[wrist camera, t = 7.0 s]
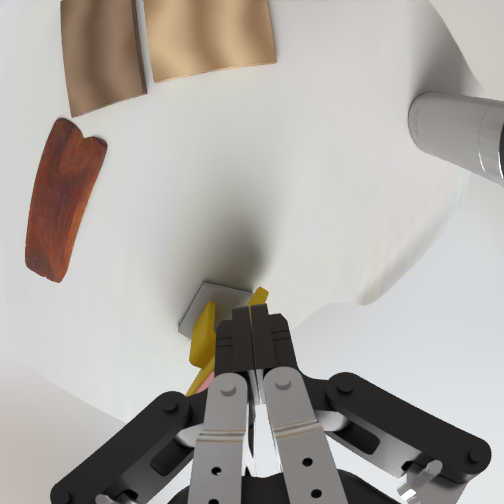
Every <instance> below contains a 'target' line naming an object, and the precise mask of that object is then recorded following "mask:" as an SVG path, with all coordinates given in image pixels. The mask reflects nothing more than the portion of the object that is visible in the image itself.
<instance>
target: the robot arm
mask: <svg viewBox="0 0 504 504" xmlns="http://www.w3.org/2000/svg"><path fill="white" fill-rule="evenodd" d="M408 124H409V131H410V134H411V137H412V139H413V141H414V142H415V144H416V145H417V146H418V147H419V148H420V149H421V150H422V151H424V152H426V153H428V154H431V155H433V156H436V157H438V158H441V159H443V160H446V161H448V162H451V163H453V164H455V165H458V166H460V167H462V168H465V169H467V170H469V171H472V172H474V173H476V174H478V175H480V176H483V177H485V178H487V179H489V180H491V181H493V182H495V183H497V184H499V185H501V186H503V187H504V101H498V100H492V99H486V98H479V97H472V96H463V95H454V94H444V93H430V92H429V93H424V94H422V95H420V96H419V97H417V98H416V99H415V101H414V102H413V103H412V106H411V108H410V111H409V117H408ZM250 311H251V317H250ZM251 322H252V323H251ZM215 347H216V348H215V368H214V379H213V380H212V381H211V383H210V385H209V387H208V388H206V389H205V390H203V391H201V392H199V393H196V394H193V395H190V396H187V397H186V396H185V395H183V394H182V393H180V392H176V391H169V392H165V393H163V394H161V395H159V396H158V397H157V398H156V399H155V400H154V401H152V402H151V403H150V404H149V405H148V406H147V407H146V408H145V409H144V410H142V411H141V412H140V413H139V414H138V415H137V416H136V417H135V418H133V419H132V420H131V421H130V422H129V423H128V424H127V425H126V426H124V427H123V428H122V429H121V430H120V431H119V432H118V433H116V434H115V435H114V436H113V437H112V438H111V439H109V441H107V442H106V443H105V444H104V445H103V446H101V447H100V448H99V449H98V450H97V451H95V452H94V453H93V454H92V455H91V456H90V457H88V458H87V459H86V460H85V461H84V462H82V463H81V464H80V465H79V466H77V467H76V468H75V469H74V470H73V471H71V472H70V473H69V474H68V475H66V476H65V477H64V478H63V479H62V480H60V481H59V482H58V483H57V484H55V485H54V487H53V488H52V490H51V493H50V500H51V503H52V504H146V503H148V502H149V501H150V500H151V499H152V498H153V497H154V496H155V495H156V494H157V493H158V492H159V491H160V490H162V489H163V488H164V487H165V486H166V485H167V484H168V483H169V482H170V481H171V480H172V479H173V478H174V477H175V476H176V475H177V474H178V473H179V472H180V471H181V470H182V469H183V468H184V467H185V466H186V465H187V464H188V463H189V462H190V461H191V460H192V459H193V464H192V472H191V480H190V485H189V486H187V487H185V488H184V489H182V490H181V491H180V492H178V493H177V494H176V495H175V496H174V497H173V498H172V499H171V500H170V501H169V502H168V503H167V504H401V503H399V502H397V501H396V500H394V499H392V498H390V497H389V496H387V495H386V494H384V493H382V492H381V491H379V490H378V489H376V488H375V487H373V486H372V485H370V484H369V483H367V482H365V481H364V480H362V479H361V478H359V477H358V476H356V475H354V474H352V473H350V472H347V471H344V470H340V469H337V468H336V466H335V462H334V459H333V456H332V453H331V451H330V448H329V444H328V441H327V438H326V435H328V436H329V437H331V438H332V439H334V440H335V441H337V442H338V443H340V444H341V445H343V446H345V447H346V448H348V449H349V450H351V451H352V452H354V453H356V454H357V455H359V456H360V457H362V458H364V459H365V460H367V461H369V462H370V463H372V464H374V465H375V466H377V467H379V468H380V469H382V470H384V471H386V472H387V473H389V474H391V475H393V476H395V477H396V478H398V482H397V491H398V493H399V495H400V496H401V497H402V498H404V499H405V500H406V501H407V502H408V504H456V503H457V501H458V499H459V497H460V496H461V494H462V492H463V490H464V489H465V487H466V485H467V483H468V482H469V481H470V480H471V479H473V478H474V477H476V476H477V475H478V474H480V473H481V472H482V471H484V470H485V469H486V468H487V466H488V465H489V463H490V461H491V449H490V446H489V445H488V443H487V442H486V441H484V440H482V439H481V438H478V437H476V436H474V435H472V434H470V433H467V432H465V431H463V430H461V429H459V428H457V427H455V426H453V425H451V424H449V423H447V422H444V421H443V420H441V419H439V418H437V417H435V416H433V415H431V414H429V413H427V412H425V411H423V410H421V409H419V408H417V407H415V406H413V405H411V404H409V403H407V402H405V401H403V400H402V399H400V398H398V397H396V396H394V395H392V394H390V393H388V392H387V391H385V390H383V389H381V388H379V387H377V386H375V385H374V384H372V383H370V382H368V381H367V380H364V379H363V378H361V377H359V376H358V375H356V374H353V373H348V372H342V373H338V374H335V375H333V376H332V377H331V378H330V379H329V380H321V379H313V378H310V377H307V376H306V375H304V374H303V373H302V372H301V371H300V370H299V368H298V366H297V362H296V357H295V353H294V349H293V344H292V340H291V335H290V332H289V327H288V322H287V320H286V319H285V318H284V317H283V316H282V315H281V313H279V314H272V315H269V314H268V308H267V303H265V304H257V305H250V310H249V306H241V307H233V308H232V320H223V321H221V322H220V324H219V325H218V327H217V329H216V343H215ZM258 384H259V387H258ZM259 390H260V396H261V402H262V404H266V406H267V413H268V419H269V424H270V429H271V434H272V438H273V442H274V447H275V452H276V457H277V461H278V466H279V472H280V473H278V474H275V475H272V476H269V477H266V478H259V477H256V466H255V416H256V414H255V405H259V404H260V398H259ZM325 434H326V435H325Z"/></svg>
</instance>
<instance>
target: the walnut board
mask: <svg viewBox="0 0 504 504" xmlns="http://www.w3.org/2000/svg"><path fill="white" fill-rule="evenodd" d="M61 35H62V49H63V60H64V69H65V77H66V85H67V92H68V98H69V105H70V110H71V116H72V118H73V117H78V116H81V115H83V114H86V113H89V112H91V111H94V110H97V109H100V108H103V107H105V106H108V105H111V104H114V103H118V102H121V101H124V100H127V99H130V98H134V97H137V96H141V95H144V94H147V90H146V84H145V77H144V71H143V64H142V57H141V50H140V42H139V34H138V25H137V15H136V5H135V0H62V1H61Z"/></svg>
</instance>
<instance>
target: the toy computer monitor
mask: <svg viewBox="0 0 504 504" xmlns="http://www.w3.org/2000/svg"><path fill="white" fill-rule="evenodd" d="M268 294H269V293H268V291H266V290H265V289H263V288H262V287H259V288H258V289H257V290H256V292H255V293H254V294H253V293H251V292H247V291H242V290H238V289H233V288H229V287H224V286H220V285H216V284H211V283H207V282H204V283H203V284H202V286H201V288H200V289H199V291H198V293H197V295H196V297H195V298H194V300H193V302H192V304H191V306H190V307H189V309H188V311H187V313H186V315H185V317H184V318H183V320H182V322H181V324H180V326H179V327H178V332H179V333H180V334H182V335H184V336H186V337H187V338H189V339H191V340H192V342H191V349H190V357H189V361H190V363H191V364H192V365H193V366H196V367H199V368H201V370H200V372H199V373H198V375H197V377H196V378H195V380H194V382H193V383H192V385H191V387H190V389H189V390H188V392H187V394H186V395H185V396H186V397H187V396H190V395H193V394H196V393H199V392H201V391H203V390H205V389H206V388H208V387H209V385H210V383H211V381H212V380H213V379H214V368H215V348H216V347H215V343H216V329H217V327H218V325H219V324H220V322H221V321H223V320H232V308H233V307H241V306H249V310H250V305H257V304H265V301H266V299H267V296H268ZM250 317H251V311H250ZM251 323H252V322H251Z"/></svg>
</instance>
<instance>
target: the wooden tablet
mask: <svg viewBox="0 0 504 504" xmlns="http://www.w3.org/2000/svg"><path fill="white" fill-rule="evenodd" d="M106 150H107V144H106V143H105V142H104V141H102V140H100V139H97V138H94V137H88V138H84V137H83V134H82V132H81V130H80V129H79V128H78V127H77V126H76V125H74V124H73V123H71V122H69V121H68V120H65V119H60V120H57V121H56V122H55V123H54V126H53V128H52V130H51V132H50V135H49V137H48V140H47V142H46V145H45V148H44V151H43V154H42V157H41V161H40V164H39V168H38V172H37V175H36V179H35V183H34V188H33V193H32V199H31V205H30V211H29V218H28V226H27V235H26V247H25V262H26V266H27V267H28V268H29V269H30V270H32V271H34V272H35V273H37V274H39V275H40V276H42V277H46V278H47V279H49V280H51V281H54V282H57V283H60V282H61V281H62V279H63V278H64V276H65V274H66V272H67V269H68V266H69V261H70V257H71V253H72V249H73V246H74V241H75V238H76V235H77V232H78V228H79V225H80V222H81V219H82V216H83V213H84V211H85V208H86V205H87V202H88V199H89V197H90V194H91V191H92V188H93V186H94V184H95V181H96V179H97V176H98V174H99V171H100V169H101V166H102V164H103V161H104V157H105V154H106Z"/></svg>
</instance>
